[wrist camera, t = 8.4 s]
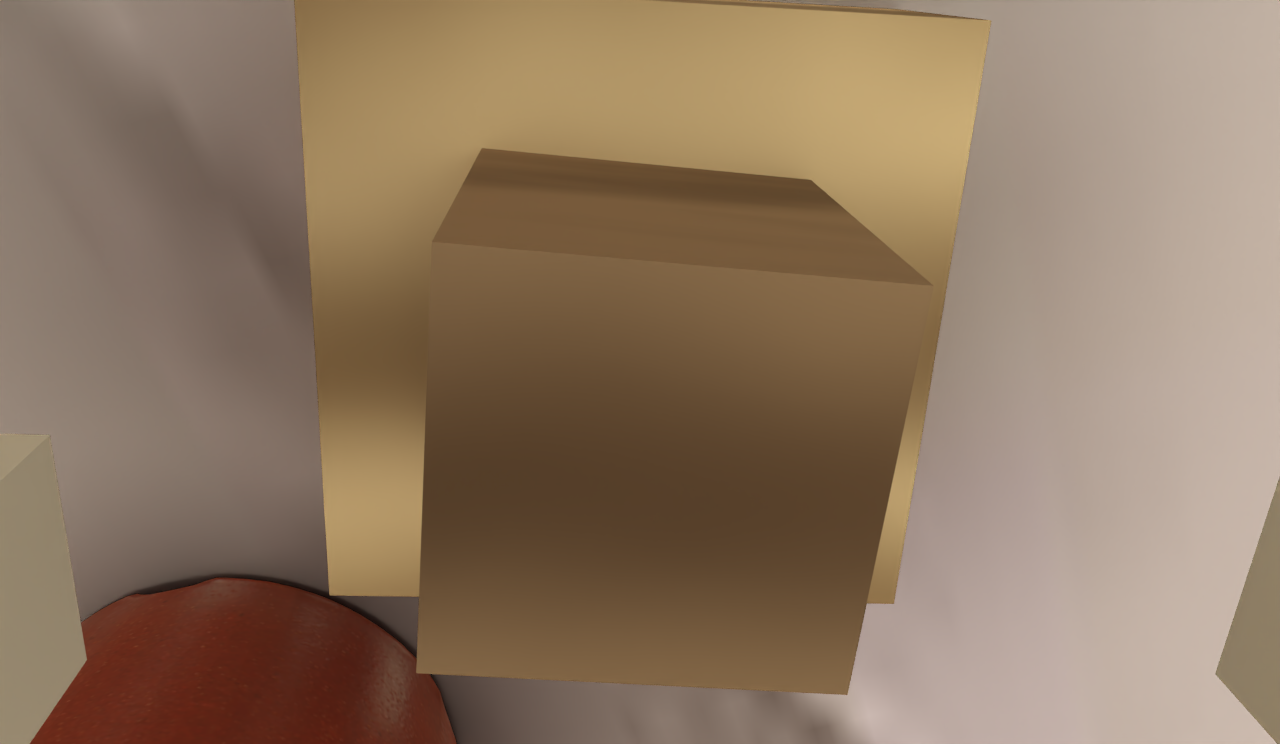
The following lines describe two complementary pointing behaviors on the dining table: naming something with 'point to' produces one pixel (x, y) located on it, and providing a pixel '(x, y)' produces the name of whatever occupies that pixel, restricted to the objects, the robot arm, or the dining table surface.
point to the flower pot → (243, 673)
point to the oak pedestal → (597, 129)
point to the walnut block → (657, 425)
